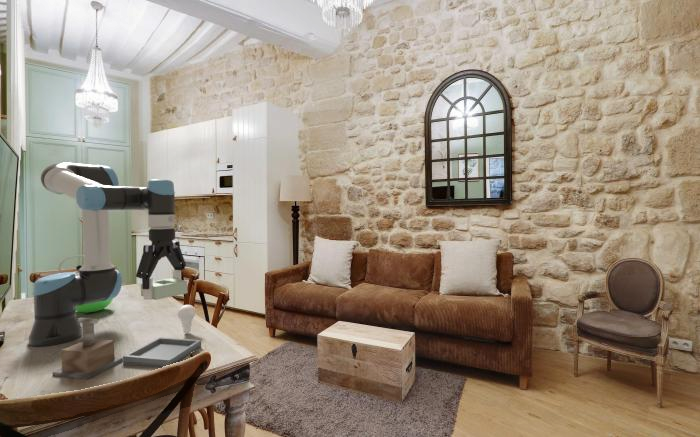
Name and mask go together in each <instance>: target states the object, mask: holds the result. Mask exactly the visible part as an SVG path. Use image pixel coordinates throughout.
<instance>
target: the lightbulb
mask: <svg viewBox="0 0 700 437" xmlns="http://www.w3.org/2000/svg"><path fill="white" fill-rule="evenodd" d="M177 317H178V319H179V320H180V322H181V324H182V328H183V334H186V335H187V334H189V333H191V330H192V323H193V320H194V318H195V317H196V309H195V307H194V306H193V305H191V304H184V305H182V306H181V307H180V308H178V312H177Z"/></svg>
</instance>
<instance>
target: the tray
mask: <svg viewBox="0 0 700 437" xmlns="http://www.w3.org/2000/svg"><path fill="white" fill-rule="evenodd" d="M201 348H202V340H201V339H191V338H177V337H164V336H163V337H162V336H159V337H157V338H155V339H154V340H152V341H150V342H148V343H145V344H143V345H142V346H140V347H138V348H136V349H134V350H132V351H130V352H128V353H126V354H125V355H123V356H122V358H123V361H122V364H123V365H128V366H140V367H147V368H148V367H149V368H158V369H159V368H160V367H163V366H166V365H170V364H173V363H176V362H179V361H180V362H182V361H183V360H185V359H186V358H188V357H189V356H191V355H192V354H191V352H193V351H195V352H197V351H198V350H200V349H201ZM196 350H197V351H196ZM190 354H191V355H190ZM180 362H179V363H180Z"/></svg>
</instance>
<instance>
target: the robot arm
mask: <svg viewBox="0 0 700 437" xmlns="http://www.w3.org/2000/svg"><path fill="white" fill-rule="evenodd" d="M117 175H118V174H117V173H116V172H115V170H114V169H113V168H112V167H110V166H107V165H101V164H92V163H91V164H88V163H76V162H57V163H54V164H51V165H48V166H47V167H46V168H44V169H43V171H42V172H41V174H40V183H41V184H42V186H43V187H44V188H45V189H46V190H48V191H49V192H51V193H53V194H56V195H65V196H67V197H69V198H72V199H74V200H76V203H77V205H78V207H79V208H80V210H81V224H82V225H81V226H82V228H81V229H82V249H83V250H82V251H83V253H82V255H84V257H83V265H81V266H82V267H81V268H80V269H79V275H75V274H74V273H73V272H74V271H72V272H71V271H65V272H61V273H59V272H58V273H52V274H48V275H45V276H42V277H40V278H38V279H36V280H35V281H34V282H33V292H32V295H33V308H34V309H33V310H34V313H33V314H34V322H33V324H32V328H31V331H30V334H29V335H28V345H30V346H33V347H47V346H53V345H59V344H63V343H68V342H70V341H73V340H76V339H78V338H79V337H81V336H83V334H82V324H81V323H78V317H77V311H76V306H79V305H84V304H89V303H94V302H99V301H106V300H109V299H115V298H116V297H117V296H118V295H119V294H120V291H121V290H122V287H123V277H122V273H121V272H120V271H119V270H118V269H116V266H115V265H114V264H112V262H111V248H110V247H111V244H110V219H109V211H127V210H129V211H132V210H133V211H145V210H146V211H148V213H147V217H148V218H147V219H148V220H147V221H148V228H150V229H149V230H148V240H149V241H150V242H151V245H150V244H147V245H145V244H144V245H143V247H142V248H143V250H142V254H141V257H140V258H141V259H140V262H139V264H138V267H137V271H136V274H135V277H136V278H138V279H141V281H142V282H141V283H142V288H143V296H144V297H143V296H142V297H143V300H150V301H152V300H154V299H153V281H154V279H153V278H154V277H152V275H153V273H154V271H155V269H156V267H157V265H158V263H159V261H160V260H162V258H167V260H168V262H169V263H170V265H171V266H172V268H173V270H172V278H174V279H180V280H182V277H183V276H182V272H183V270H185V267H186V266H187V264H186V261H185V258H184V254H183V253H182V249H181V244H180V241H178V240H177V241H176V229H175V228H174V227H175V225H176V221H175V218H176V217H175V216H176V215H175V213H176V212H175V211H176V209H175V208H176V206H175V200H176V199H175V193H176V192H175V185H174V181H172V180H170V179H149V180H148V181H147V186H123V185H122V186H120V183H119V178H118V176H117ZM174 240H175V241H174Z"/></svg>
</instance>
